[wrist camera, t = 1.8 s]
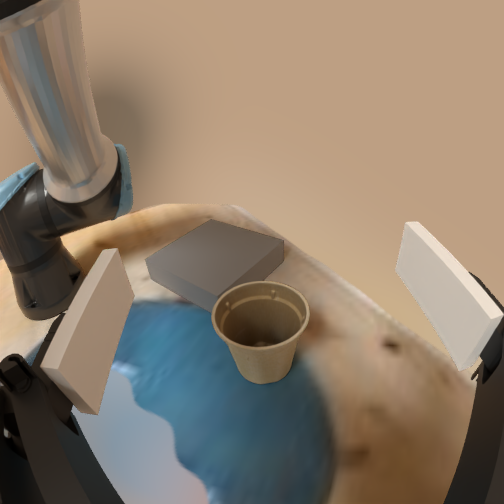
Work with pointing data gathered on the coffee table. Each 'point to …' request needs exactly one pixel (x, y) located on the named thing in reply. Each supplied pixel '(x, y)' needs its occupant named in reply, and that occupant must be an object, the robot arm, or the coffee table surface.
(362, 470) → the coffee table surface
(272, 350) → the flower pot
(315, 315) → the coffee table surface
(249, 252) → the plinth
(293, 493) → the coffee table surface
